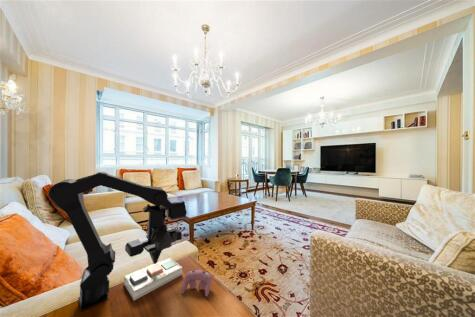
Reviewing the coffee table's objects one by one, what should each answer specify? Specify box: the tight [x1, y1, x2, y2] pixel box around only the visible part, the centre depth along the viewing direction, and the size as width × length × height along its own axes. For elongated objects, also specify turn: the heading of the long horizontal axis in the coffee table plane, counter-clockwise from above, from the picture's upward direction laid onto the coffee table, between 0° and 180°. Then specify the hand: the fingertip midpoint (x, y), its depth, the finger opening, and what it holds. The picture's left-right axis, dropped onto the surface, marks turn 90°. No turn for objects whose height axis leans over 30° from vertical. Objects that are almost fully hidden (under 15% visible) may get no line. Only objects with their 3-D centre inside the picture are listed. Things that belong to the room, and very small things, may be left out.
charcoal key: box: [130, 270, 148, 286], centre depth 60 cm, size 4×4×2 cm
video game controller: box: [180, 269, 213, 297], centre depth 60 cm, size 10×5×7 cm, turn 85°
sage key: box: [161, 260, 176, 270], centre depth 68 cm, size 4×4×2 cm
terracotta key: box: [146, 264, 163, 277], centre depth 64 cm, size 4×4×2 cm
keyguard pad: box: [123, 256, 183, 301], centre depth 64 cm, size 17×10×3 cm, turn 139°
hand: (154, 263), depth 64 cm, fingers closed
